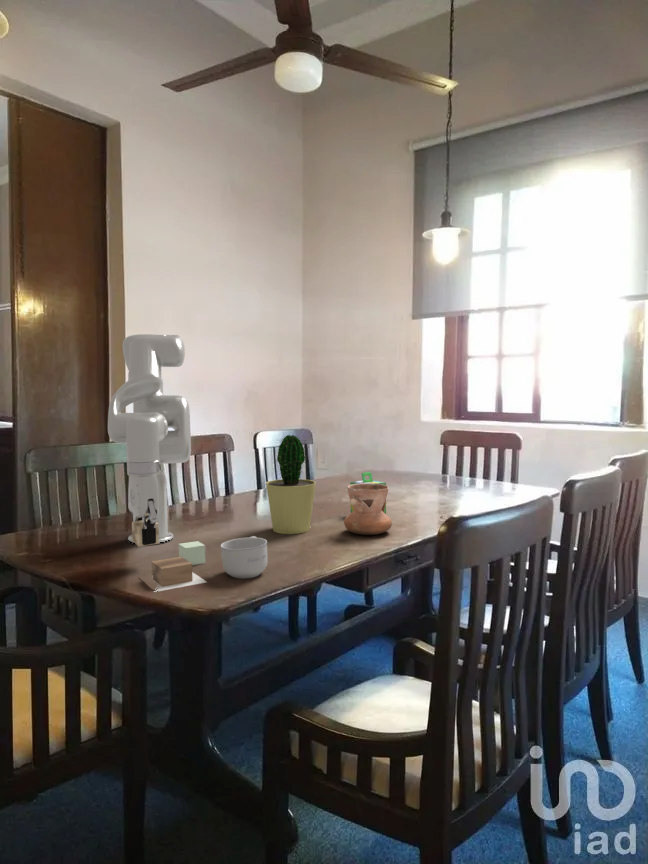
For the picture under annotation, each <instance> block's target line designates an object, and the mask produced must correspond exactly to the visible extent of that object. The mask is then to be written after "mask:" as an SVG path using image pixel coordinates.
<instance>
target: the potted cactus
mask: <svg viewBox="0 0 648 864" xmlns="http://www.w3.org/2000/svg"><path fill="white" fill-rule="evenodd" d="M278 441H279V443H280V444H279V445H278V448H277V447H276V449H278V450H276V453H277V455H276V462H277V463H278V464H279V465H278V467H279V472H280V473H279V475H280V477H281V478H279V479H273V480H267V481H266V482H265V487H266V492H267V499H268V506H269V512H270V518H271V525H272V530H273V532H275V533H278V534H284V535H297V534H298V535H299V534H304V533H307V532H309V531H310V529H311V523H312V522H311V520H312V516H313V515H312V514H313V505H314V499H315V491H316V483H317V482H316V481H314V480H311V479H306V478H305V479H303V478H301V475H302V474H301V473H303V471H302V470H303V467H304V466H303V465H304V463H305V461H308V459H306V456H308V454H306V452H305V446H306V444H304V443H303V442H304V441H302V440H301V439H300V438H298V435H294V434H292V435H290V434H287V435H285V436H283V438H281V439H280V440H278Z"/></svg>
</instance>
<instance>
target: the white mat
mask: <svg viewBox="0 0 648 864" xmlns="http://www.w3.org/2000/svg"><path fill="white" fill-rule="evenodd" d="M192 580H193V581H190V582H185V583H180V584H174V585H169V586H163V587H162V586H161V585H159V584H158V585H157V587H156V588H155V590H156V589H157V588H158V589H157V590H156V591H153V592H154V593H157V591H158V592H163V591H168V590H173V589H178V588H184V587H189V586H195V585H199V584H200V585H201V584H205V583H207V581H206V580H205V579H203V578H202V577H201V576H199V575H198V574H196V573H195V572H193V571H192ZM156 583H157V582H156ZM158 586H159V587H158Z"/></svg>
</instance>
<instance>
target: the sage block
mask: <svg viewBox="0 0 648 864" xmlns="http://www.w3.org/2000/svg"><path fill="white" fill-rule="evenodd" d="M178 557H183V558H184V559H186V560H187V561H189V562H190V563H192V566H197V565H202V564H206V545H205V544H204V543H202V542H201V541H198V540H197V541H189V542H183V543H178Z"/></svg>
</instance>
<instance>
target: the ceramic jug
mask: <svg viewBox="0 0 648 864" xmlns="http://www.w3.org/2000/svg"><path fill="white" fill-rule="evenodd" d="M347 493H348V497H349V501H348V503H349V504H350V506H351V505H353V507H354V511H353V512H352V513H351V512H350V513H349V514H348V515H347V516H346V517H345V519H344V520H343V524H344V527H345V529H346V530H348V531H349V532H350V533H353V534H356V535H361V536H375V535H380V534H383V533H386V532H387V531H389V530H390V529H391V527H392V526H393V521H392V519H391V517H390V516H389V515H387V513H386V514H385V513H384V509H385V505H386V506H387V497H388V493H389V486H388V485H387V484H386V485H382V484H377V483H375V484H372V483H361V484H352V485H350V484H349V485H348V486H347Z"/></svg>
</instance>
